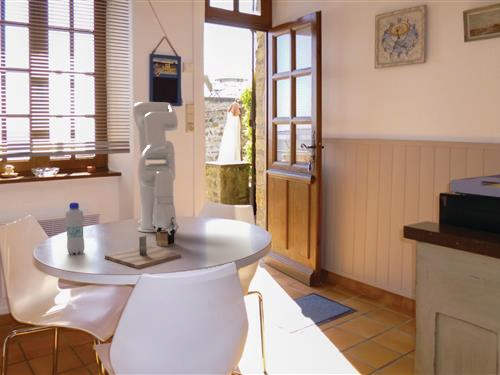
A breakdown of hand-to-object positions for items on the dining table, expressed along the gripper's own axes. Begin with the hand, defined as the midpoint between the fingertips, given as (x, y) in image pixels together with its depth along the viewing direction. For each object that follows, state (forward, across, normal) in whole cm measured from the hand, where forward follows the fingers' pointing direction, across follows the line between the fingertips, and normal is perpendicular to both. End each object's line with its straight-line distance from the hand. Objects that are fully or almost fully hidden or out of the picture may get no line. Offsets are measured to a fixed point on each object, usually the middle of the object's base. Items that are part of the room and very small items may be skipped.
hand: (165, 242), depth 202 cm
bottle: (+1, -15, -32) cm, 35 cm away
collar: (+1, 0, 0) cm, 1 cm away
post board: (+1, +10, -19) cm, 21 cm away
